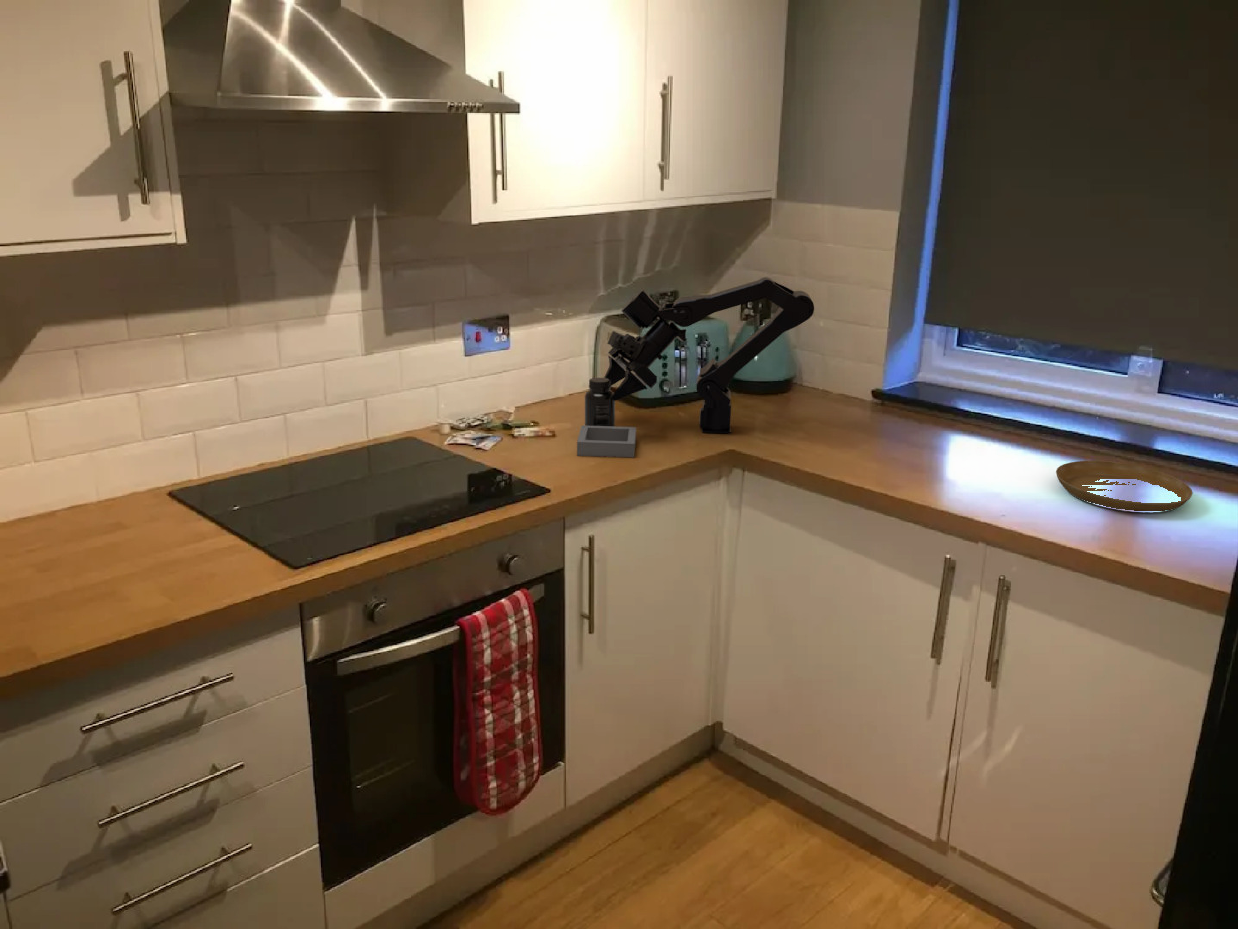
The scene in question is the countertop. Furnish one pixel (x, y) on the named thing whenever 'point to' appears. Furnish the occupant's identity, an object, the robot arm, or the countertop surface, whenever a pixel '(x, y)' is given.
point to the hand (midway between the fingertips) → (606, 394)
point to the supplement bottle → (599, 403)
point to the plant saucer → (1092, 471)
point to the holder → (606, 441)
